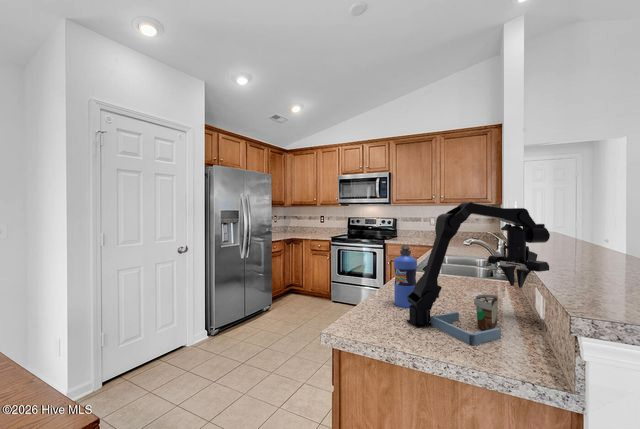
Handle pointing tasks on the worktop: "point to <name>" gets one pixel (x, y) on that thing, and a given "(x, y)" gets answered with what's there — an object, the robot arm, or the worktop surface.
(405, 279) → the water bottle
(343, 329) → the worktop surface
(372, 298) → the worktop surface
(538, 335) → the worktop surface
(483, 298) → the food container
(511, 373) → the worktop surface
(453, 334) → the slate-blue bay
